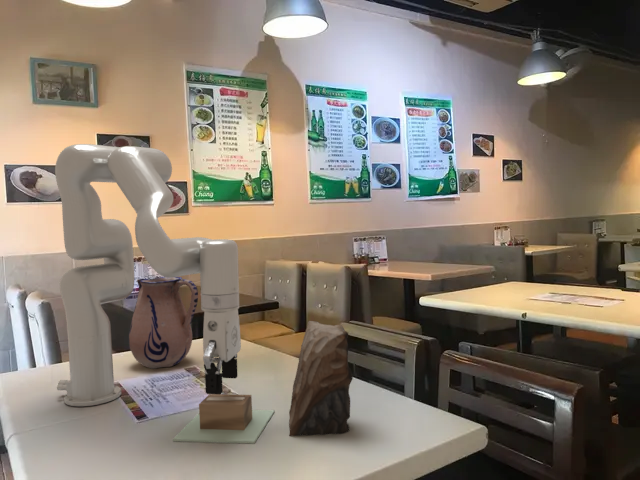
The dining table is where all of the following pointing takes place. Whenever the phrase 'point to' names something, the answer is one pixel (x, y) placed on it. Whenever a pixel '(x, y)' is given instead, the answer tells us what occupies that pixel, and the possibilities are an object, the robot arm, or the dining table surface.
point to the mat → (226, 436)
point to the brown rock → (321, 383)
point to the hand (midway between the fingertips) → (222, 385)
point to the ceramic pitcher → (162, 322)
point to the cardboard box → (225, 412)
